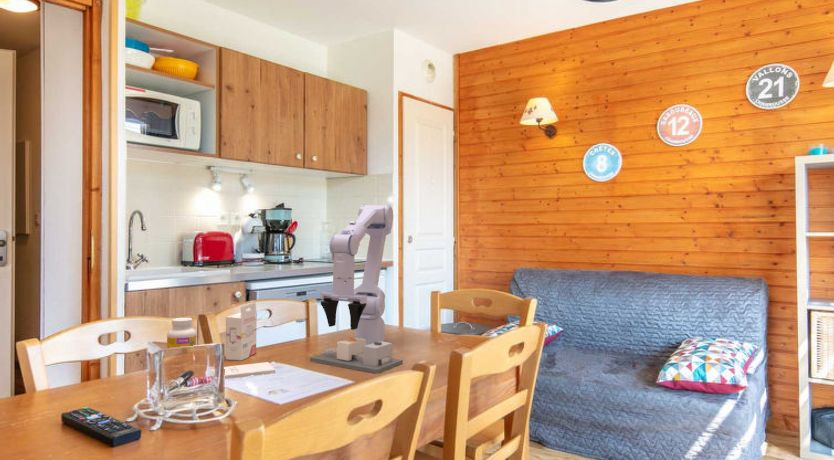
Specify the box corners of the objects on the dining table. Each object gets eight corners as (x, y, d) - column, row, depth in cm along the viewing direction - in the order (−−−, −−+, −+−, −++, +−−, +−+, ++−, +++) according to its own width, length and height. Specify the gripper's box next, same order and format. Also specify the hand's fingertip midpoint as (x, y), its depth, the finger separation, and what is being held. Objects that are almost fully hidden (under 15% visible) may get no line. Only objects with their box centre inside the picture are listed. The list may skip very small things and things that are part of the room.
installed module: (379, 358, 147) (379, 338, 147) (391, 360, 145) (392, 340, 145) (362, 364, 141) (363, 343, 140) (375, 366, 138) (375, 345, 138)
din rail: (333, 352, 153) (333, 347, 153) (389, 362, 143) (389, 356, 143) (324, 355, 150) (324, 349, 150) (381, 365, 140) (381, 359, 140)
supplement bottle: (173, 375, 131) (174, 322, 131) (161, 370, 135) (162, 318, 135) (200, 370, 136) (201, 319, 136) (188, 365, 140) (189, 315, 140)
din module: (354, 353, 151) (354, 335, 151) (365, 355, 149) (366, 337, 149) (336, 358, 145) (337, 339, 145) (348, 360, 143) (348, 341, 143)
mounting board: (338, 352, 157) (338, 349, 157) (402, 363, 146) (402, 359, 146) (310, 361, 147) (310, 357, 147) (376, 373, 136) (376, 369, 136)
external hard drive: (275, 375, 135) (222, 381, 129) (267, 367, 142) (217, 372, 136) (275, 369, 135) (222, 374, 129) (267, 361, 142) (217, 366, 136)
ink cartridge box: (240, 352, 155) (241, 301, 155) (256, 353, 154) (257, 302, 154) (224, 359, 147) (225, 305, 147) (241, 361, 146) (241, 306, 146)
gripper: (313, 277, 149) (312, 326, 149) (356, 280, 141) (355, 333, 142) (329, 275, 155) (329, 323, 155) (371, 278, 148) (371, 328, 148)
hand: (342, 327), depth 149 cm, fingers open, 7 cm apart
